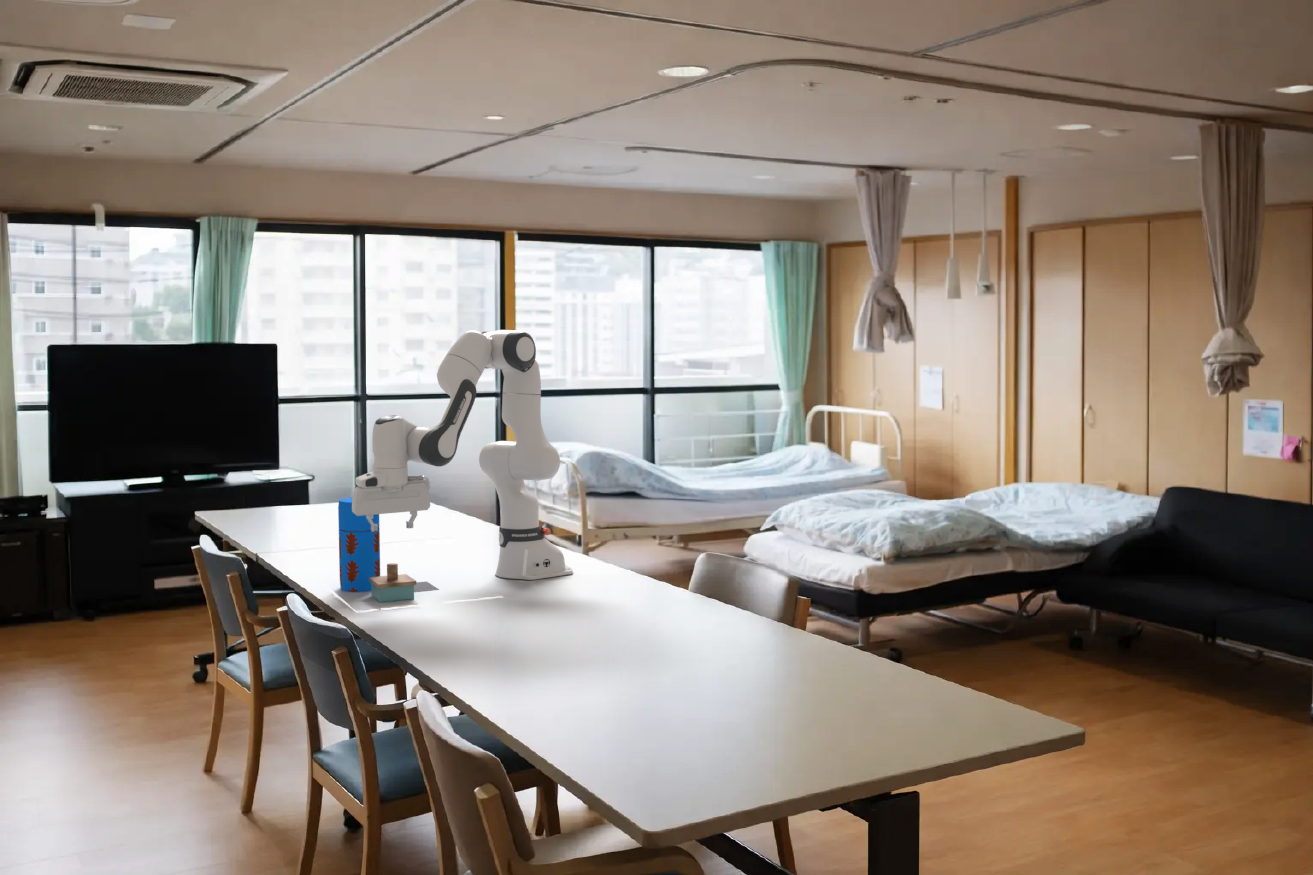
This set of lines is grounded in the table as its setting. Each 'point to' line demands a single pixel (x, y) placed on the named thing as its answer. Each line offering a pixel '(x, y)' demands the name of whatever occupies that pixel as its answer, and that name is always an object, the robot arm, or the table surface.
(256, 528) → the table surface
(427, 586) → the mat
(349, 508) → the thermos
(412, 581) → the lid
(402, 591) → the teal open box
